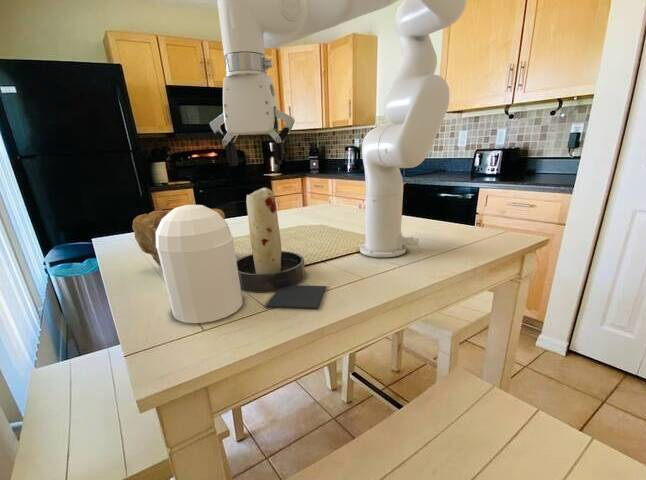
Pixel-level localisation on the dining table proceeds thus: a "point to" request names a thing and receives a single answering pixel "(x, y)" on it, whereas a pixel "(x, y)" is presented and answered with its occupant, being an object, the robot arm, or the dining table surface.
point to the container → (198, 264)
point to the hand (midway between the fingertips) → (255, 165)
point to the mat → (297, 297)
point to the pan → (270, 282)
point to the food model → (264, 231)
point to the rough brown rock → (152, 231)
